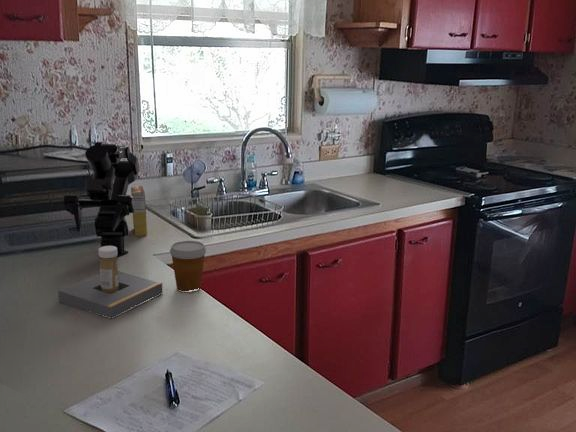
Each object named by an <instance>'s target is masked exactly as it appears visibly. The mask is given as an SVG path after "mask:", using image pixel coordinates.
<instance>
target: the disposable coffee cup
mask: <svg viewBox="0 0 576 432" xmlns="http://www.w3.org/2000/svg"><path fill="white" fill-rule="evenodd" d="M206 252H207V248H206V247H205V244H204V243H203V242H201V241H197V240H182V241H177V242H173V244H172V245H171V246H170V249H169V253H170V256H171V259H172V267H173V272H174V279H175V286H176V290H177V289H178V290H181V291H189V290H194V289H198V288H199V290H200V289H202V288H201V285H202V277H203V270H204V263H205V262H204V261H205V254H206ZM178 290H177V291H178ZM181 291H180V292H181Z"/></svg>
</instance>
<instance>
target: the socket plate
mask: <svg viewBox="0 0 576 432" xmlns="http://www.w3.org/2000/svg"><path fill="white" fill-rule="evenodd" d="M118 282H119V291H117V292H115V293H112V294H109V293H106V292H102V291H101V280H100V273H99V274H97V275H94V276H92V277H89V278H85V279H84V280H81V281H79V282H76V283H74V284H71V285H69V286H66V287H63V288H62V289H58V291H57V292H58V293H57V294H58V302H59V303H61V304H65V305H67V306H70V307H73V306H74V308H76V307H77V308H76V309H79V308H80V310H82V309H84V310H83V311H85V310H87V311H86V312H88V311H91V312H94V313H97V314H100V315H104V316H107V317H110V318H112V317H114V316H116V315H118V314H120V313H122V312H124V311H126V310H128V309H130V308H131V307H134V306H135V305H138V304H140V303H142V302H144V301H146V300H148V299H150V298H152V297H155V296H157V295H159V294H161V293H163V292H164V291H163V282H161V281H155V280H151V279H147V278H144V277H140V276H137V275H134V274H130V273H127V272H123V271H119V270H118ZM91 312H90V313H91ZM94 313H93V314H94ZM97 314H96V315H97ZM100 315H99V316H100Z"/></svg>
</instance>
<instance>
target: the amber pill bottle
mask: <svg viewBox="0 0 576 432" xmlns="http://www.w3.org/2000/svg"><path fill="white" fill-rule="evenodd" d="M97 253H99V254H98V258H99V274H100V280H101V291H102V292H106V293H109V294H112V293H115V292H117V291H119V282H118V271H119V270H118V257H117V254H118V253H117V248H116V247H115V246H103V247H101V246H100V247H99V248H98V251H97Z"/></svg>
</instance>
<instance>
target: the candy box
mask: <svg viewBox="0 0 576 432" xmlns="http://www.w3.org/2000/svg"><path fill="white" fill-rule="evenodd" d="M130 190H131V191H130V192H131V193H130V195H131V196H132V197H133V199H134V203H135V212H134V213H132V220H133V221H132V223H133V230H134V236H135V237H142V236H143V237H144V236H147V235H148V227H147V210H146V209H147V206H146V193H145V189H144V186H143V185H138V186H137V185H136V186H131V187H130Z"/></svg>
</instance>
